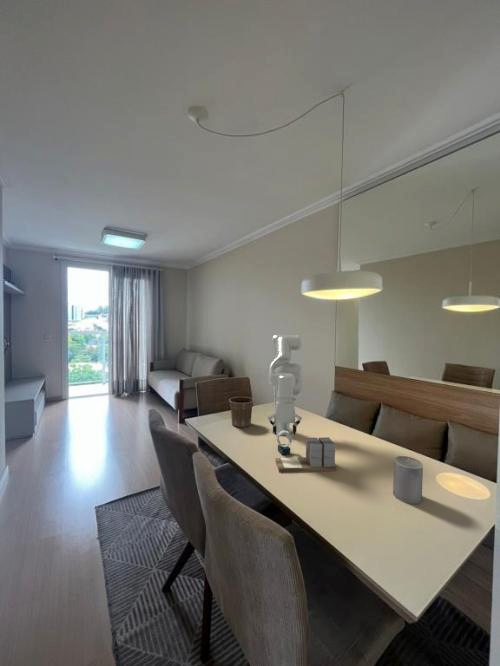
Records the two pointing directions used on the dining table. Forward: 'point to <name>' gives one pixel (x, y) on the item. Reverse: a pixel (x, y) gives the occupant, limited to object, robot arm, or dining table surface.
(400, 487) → the pillar candle
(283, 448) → the watch
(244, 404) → the plant pot
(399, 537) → the dining table surface
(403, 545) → the dining table surface
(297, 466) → the wood and grey tray
